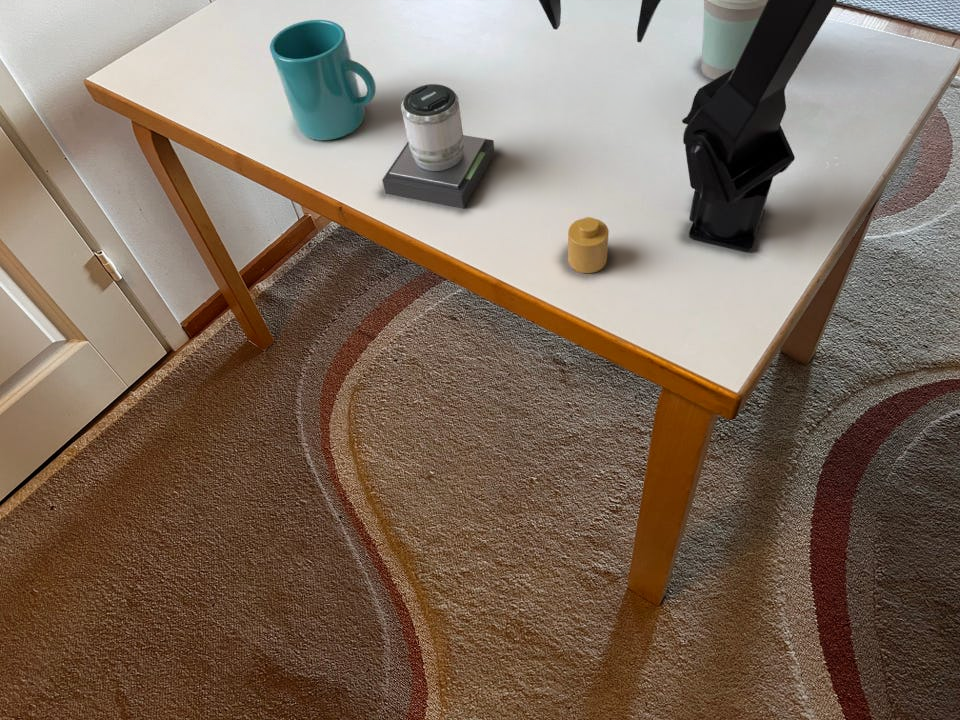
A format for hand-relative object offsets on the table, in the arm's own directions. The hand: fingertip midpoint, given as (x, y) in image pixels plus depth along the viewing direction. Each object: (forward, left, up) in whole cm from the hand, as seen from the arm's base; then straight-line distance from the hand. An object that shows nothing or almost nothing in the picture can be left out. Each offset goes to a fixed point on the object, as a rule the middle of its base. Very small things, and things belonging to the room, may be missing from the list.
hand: (597, 33), depth 76 cm
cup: (+32, +7, -13) cm, 35 cm away
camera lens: (+15, +12, -11) cm, 22 cm away
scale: (+15, +12, -13) cm, 23 cm away
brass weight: (-6, +19, -13) cm, 24 cm away
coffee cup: (-11, -18, -13) cm, 25 cm away
